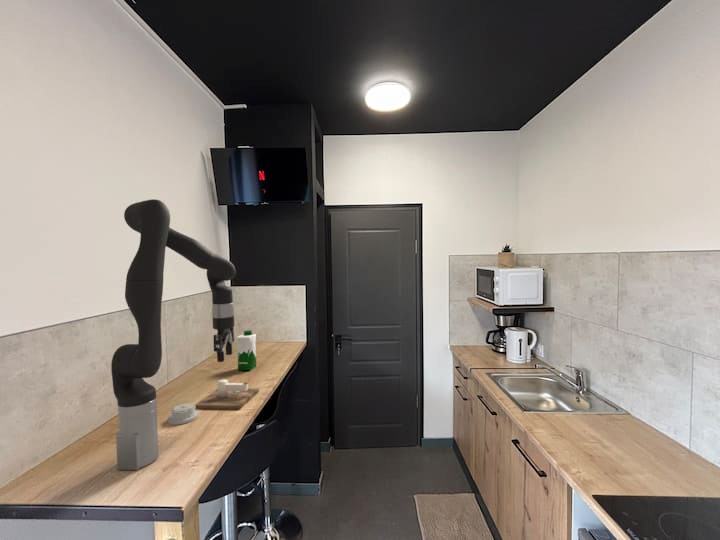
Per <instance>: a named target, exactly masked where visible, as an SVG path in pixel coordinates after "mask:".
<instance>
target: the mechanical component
mask: <svg viewBox="0 0 720 540" xmlns="http://www.w3.org/2000/svg"><path fill="white" fill-rule="evenodd" d="M170 413H171V414H170V415H168V418H167V423H168V424H170V425H173V426H175V425H177V426H178V425H184V424H188V423H191V422H193V421H194V420H197V419H198V418H199V417H200V416H199V415H200V414H199V410H197V409H196V405H195V404H193V403H188V402H187V403H182V404H178V405H176V406H174V407H172V408H171V412H170Z"/></svg>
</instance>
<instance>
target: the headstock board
mask: <svg viewBox="0 0 720 540" xmlns="http://www.w3.org/2000/svg"><path fill="white" fill-rule="evenodd" d="M259 390H260V388H259V387H258V388H256V387H254V388H253V387H252V388H251V387H248V390H247V391H228V396H226V397H218V388H217V389H216V390H214V391H213V392H211V393H210V394H209V395H207V396H206V397H205V398H203V399H202V400H200V401H199V402H198V403H196V404H195V410H197V409H198V410H208V409H209V410H242V408H243V407H245V405H246V404H247V403H248V402H249V401H251V400H252V399H253V398H254V397H255V396H256V395H257V394H258V393H259V392H260V391H259Z"/></svg>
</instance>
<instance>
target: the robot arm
mask: <svg viewBox="0 0 720 540" xmlns="http://www.w3.org/2000/svg"><path fill="white" fill-rule="evenodd" d="M123 214H124V215H123V218H124V221H125V223H126V224H127V225H128V227H129V228H130V229H132V230H133V231H135V232H137V233H139V234H140V240H139V245H138V248H137V252H136V253H135V256H134V257H133V259H132V261H131V262H130V265H129V267H128V270H127V273H126V279H125V286H124V287H125V290H124V295H125V296H124V299H125V302H126V304H127V307H128V309H129V311H130V313H131V314H132V316H133V319H134V320H135V322H136V325H137V329H138V330H137V331H138V343H130V344H129V343H128V344H127V343H126V344H123V345H121V346H119V347H118V348H117V349H116V350H115V351H114V353H113V355H112V359H111V364H110V365H111V368H110V370H111V379H112V388H113V394H114V397H115V399H116V400H117V401H116V402H117V417H118V418H117V420H118V433H117V434H116V436H115V444H116V466H117V467H116V469H117V470H120V471H121V470H124V471H125V470H128V471H138V470H140V469H141V468H143V467H146V466H148V465H150V464H152V463H153V461H154V462H155V461H156V460H158V458H159V434H158V433H159V431H158V412H157V410H158V408H157V407H158V406H157V405H158V402H157V390H156V388H155V386H153V385H152V384H149V383H148V382H147V381H146V380H144V379H148V378H149V379H150V378H152V377H154V376H155V375H156V374H158V371H159V370H160V368H161V364H162V357H163V350H162V349H163V348H162V347H163V346H162V326H161V324H162V302H163V301H162V300H163V290H164V273H165V271H164V270H165V261H166V260H165V257H166V247H167V248H169V249H170V250H172V251H174V252H175V253H177V254H178V255H180V256H181V257H183V258H184V259H186V260H188V261H189V262H190V263H191V264H193V265H194V266H196V267H198V268H200V269H201V270H206V278H207V282H208V285H209V288H210V291H211V297H212V299H211V300H212V309H211V318H212V329H213V330H217V334H213V352H216V357H217V359H216V360H217V363H224V361H225V355H226V356H232V355H233V344H234V342H235V331H234V328H235V308H234V303H233V302H234V300H233V299H234V297H233V290H232V288H231V287H229V286H227V284H226V282H228V281H230V280H233V278H235V276H236V273H237V270H236V267H235V265H234V264H233V263H232V262H231V261H230V260H228V259H227V258H224V257H223V256H221V255H219V254H217V253H215V252H213V251H212V250H210V249H209V248H208V247H207V246H205V245H204V244H202V242H200V241H198V240H197V239H194V238H193V237H190V236H188V235H186V234H183V233H181V232H178V231H177V230H175V229H173V228H171V227H170V225H171V214H170V210H169V208H168V206H167V205H166V204H165V202H163V201H162V200H159V199H157V198H156V199H147V200H142V201H139V202H138V201H137V202H135V203H132V204H130V205H128V206H127V207H126V209H125V210H124V213H123Z"/></svg>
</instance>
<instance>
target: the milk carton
mask: <svg viewBox="0 0 720 540" xmlns="http://www.w3.org/2000/svg"><path fill="white" fill-rule="evenodd" d="M256 337H257V334H256V333H253V332H252V330H249V329H248V330H244V331H243V333H242V334H241V335H238V336H236V337H235V339H236V343H237V345H236V346H237V347H236V348H237V371H238V370H251V369H253V368H254V367H256V368H257V348H256V347H257V346H256V340H257V338H256ZM254 369H255V368H254ZM254 369H253V370H254ZM251 371H252V370H251Z"/></svg>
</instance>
